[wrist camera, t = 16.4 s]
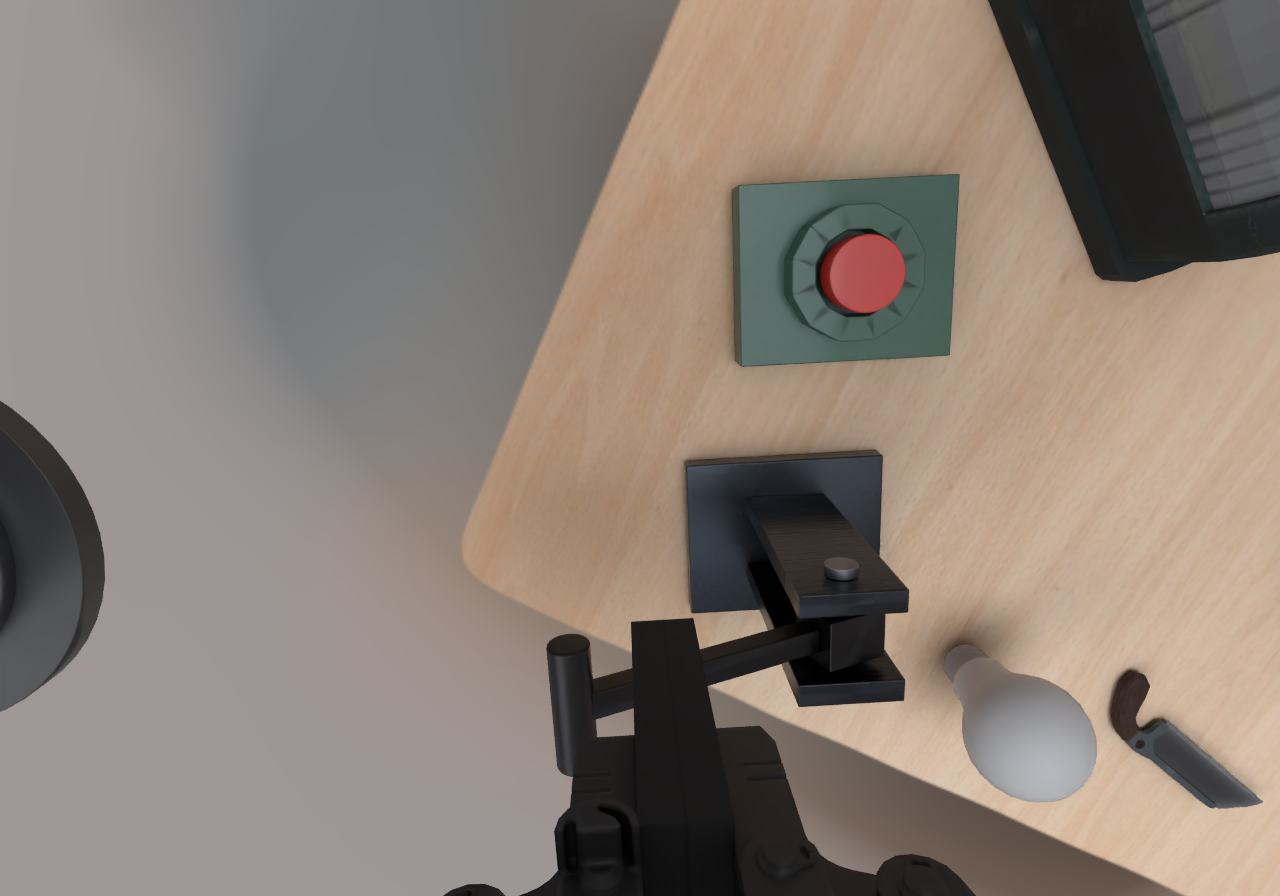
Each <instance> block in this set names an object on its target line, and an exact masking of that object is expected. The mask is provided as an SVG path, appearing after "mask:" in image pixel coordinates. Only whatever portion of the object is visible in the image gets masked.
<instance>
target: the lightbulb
mask: <svg viewBox="0 0 1280 896" xmlns="http://www.w3.org/2000/svg"><path fill="white" fill-rule="evenodd" d="M944 670H945V672H946V674H947V675H948V678H949V679H950V680H951V682H952V683H953V685H954V690H955V693H956V695H957V697H958V698H959V700H960V701H961V703H962V706H963V710H964V711H963V720H962V733H963V740H964V744H965V747H966V750H967V752H968V755H969V758H970V760H971V761H972V763H973V764H974V766H975V767H976V768H977V770H978V771H979V773H980V774H981V775H982V776H983V777H984V778H985V779H986V780H987V781H989V782H990V783H991V784H992V785H993V786H994V787H996V788H997V789H999V790H1001V791H1002V792H1004V793H1006V794H1008V795H1009V796H1011V797H1014V798H1017V799H1021V800H1025V801H1030V802H1053V801H1058V800H1061V799H1064V798H1067V797H1069V796H1070V795H1072V794H1074V793H1075V792H1077V791H1078V790H1079V789H1080V788H1082V787H1083V785H1084V784H1085V783H1086V782H1087V781H1088V779H1089V777H1090V776H1091V774H1092V771H1093V768H1094V765H1095V762H1096V756H1097V742H1096V736H1095V732H1094V729H1093V727H1092V724H1091V721H1090V719H1089V718H1088V716H1087V715H1086V713H1085V711H1084V710H1083V708H1082V707H1081V705H1080V704H1079V703H1078V702H1077V701H1076V700H1075V699H1074V698H1073V697H1072V696H1071V695H1070V694H1069V693H1068V692H1067V691H1065V690H1064V689H1062V688H1060V687H1059V686H1057V685H1055V684H1053V683H1051V682H1050V681H1047V680H1045V679H1042V678H1039V677H1034V676H1029V675H1024V674H1017V673H1012V672H1010V671H1009V670H1007V669H1006V668H1005V667H1004V666H1002V665H1001V664H1000V663H999V662H997V661H996V660H993V659H990V658H989V657H988V656H987V655H986V654H985V653H984V652H983V651H982V650H980V649H979V648H977V647H976V646H973V645H969V644H963V645H959V646H956V647H954V648H953V649H952V650H950V651H949V653H948V654H947V655H946V657H945V660H944Z"/></svg>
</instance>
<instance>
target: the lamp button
mask: <svg viewBox="0 0 1280 896" xmlns="http://www.w3.org/2000/svg"><path fill="white" fill-rule="evenodd" d="M905 274H906V267H905V261H904V258H903V255H902V253H901V251H900V250H899V248H898V247H897V246H896V245H895V244H894V243H893V242H892V241H891V240H889V239H888V238H886V237H883V236H880V235H876V234H865V235H856V236H850V237H847V238H844V239H842V240H841V241H839V242H837V243H836V244H835V245H834V246H833V247H832V248H831V249H830V250H829V251H828V253H827V254H826V256H825V258H824V260H823V262H822V265H821V270H820V281H821V286H822V289H823V291H824V293H825V295H826V297H827V298H828V299H829V300H830V301H831V302H832V303H833V304H834V305H836V306H837V307H839V308H841V309H845V310H848V311H853V312H858V313H871V312H875V311H878V310H881V309H883V308H884V307H886V306H887V305H889V304H890V303H891V302H892V301H893V300H894V299H895V298H896V297H897V295H898V294H899V292H900V291H901V289H902V286H903V284H904V280H905Z"/></svg>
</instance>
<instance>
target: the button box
mask: <svg viewBox="0 0 1280 896" xmlns="http://www.w3.org/2000/svg"><path fill="white" fill-rule="evenodd" d="M958 194H959V174H949V175H929V176H909V177H890V178H870V179H850V180H831V181H811V182H791V183H772V184H752V185H739V186H737V187H735V188H734V189H732V222H733V277H734V331H735V361H736V362H737V363H738V364H739V365H740V366H742V367H746V366H764V365H783V364H801V363H820V362H838V361H857V360H875V359H894V358H912V357H931V356H949V355H950V341H951V323H952V304H953V286H954V267H955V249H956V230H957V212H958ZM865 234H876V235H880V236H883V237H886V238H888V239H889V240H891V241H892V242H893V243H894V244H895V245H896V246H897V247H898V248H899V250H900V251H901V253H902V255H903V258H904V261H905V267H906V274H905V280H904V284H903V286H902V289H901V291H900V292H899V294H898V295H897V297H896V298H895V299H894V300H893V301H892V302H891V303H890V304H889V305H887V306H886V307H884V308H883V309H881V310H878V311H875V312H871V313H858V312H853V311H848V310H845V309H841V308H839V307H837V306H836V305H834V304H833V303H832V302H831V301H830V300H829V299H828V298H827V297H826V295H825V293H824V291H823V289H822V286H821V281H820V270H821V265H822V262H823V260H824V258H825V256H826V254H827V253H828V251H829V250H830V249H831V248H832V247H833V246H834V245H835V244H836V243H837V242H839V241H841V240H842V239H844V238H847V237H850V236H856V235H865Z"/></svg>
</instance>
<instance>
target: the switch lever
mask: <svg viewBox="0 0 1280 896" xmlns="http://www.w3.org/2000/svg"><path fill="white" fill-rule="evenodd" d="M884 642H885V614H872V615H854V616H837V617H820V618H803V619H799V617H798V615H797V623H794V624H790V625H787V626H783V627H779V628H776V629H772V630H769V631H765V632H761V633H758V634H754V635H751V636H747V637H743V638H740V639H736V640H732V641H729V642H725V643H722V644H718V645H714V646H711V647H707V648H704V649H700V653H701V658H702V663H703V668H704V673H705V678H706V682H707V686H709V685H713V684H716V683H719V682H723V681H726V680H729V679H733V678H736V677H739V676H743V675H746V674H749V673H753V672H756V671H759V670H763V669H766V668H769V667H773V666H776V665H779V664H783V663H786V662H789V661H793V660H796V659H800V658H803V657H806V656H810V657H811V658H812V659H814V660H815V661H816V662H817V663H819V664H820V665H821V666H823V667H824V668H825V669H827V670H828V671H829V672H834V671H837V670H840V669H843V668H847V667H850V666H853V665H856V664H859V663H862V662H866V661H869V660H872V659H875V658H878V657H882V656H884ZM547 659H548V670H549V681H550V692H551V703H552V714H553V724H554V736H555V747H556V758H557V767H558V769H559V770H560V772H561V773H562V774H564V775H567V776H570V777H573V770H574V759H575V754H576V753H577V751H578V750H579V749H580V747H581V746H582V744H583V743H584V741H585V740H586V738H596V737H597V730H596V719H599V718H602V717H606V716H609V715H612V714H615V713H619V712H622V711H626V710H628V709H632V708H634V699H633V668H631V669H628V670H624V671H621V672H617V673H613V674H610V675H606V676H602V677H599V678H595V679H593V676H592V663H591V651H590V642H589V640H588V639H587V638H586V637H584V636H582V635H579V634H566V635H560V636H557V637H555V638H553V639H552V640H551V641H549V643H548V644H547Z"/></svg>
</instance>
